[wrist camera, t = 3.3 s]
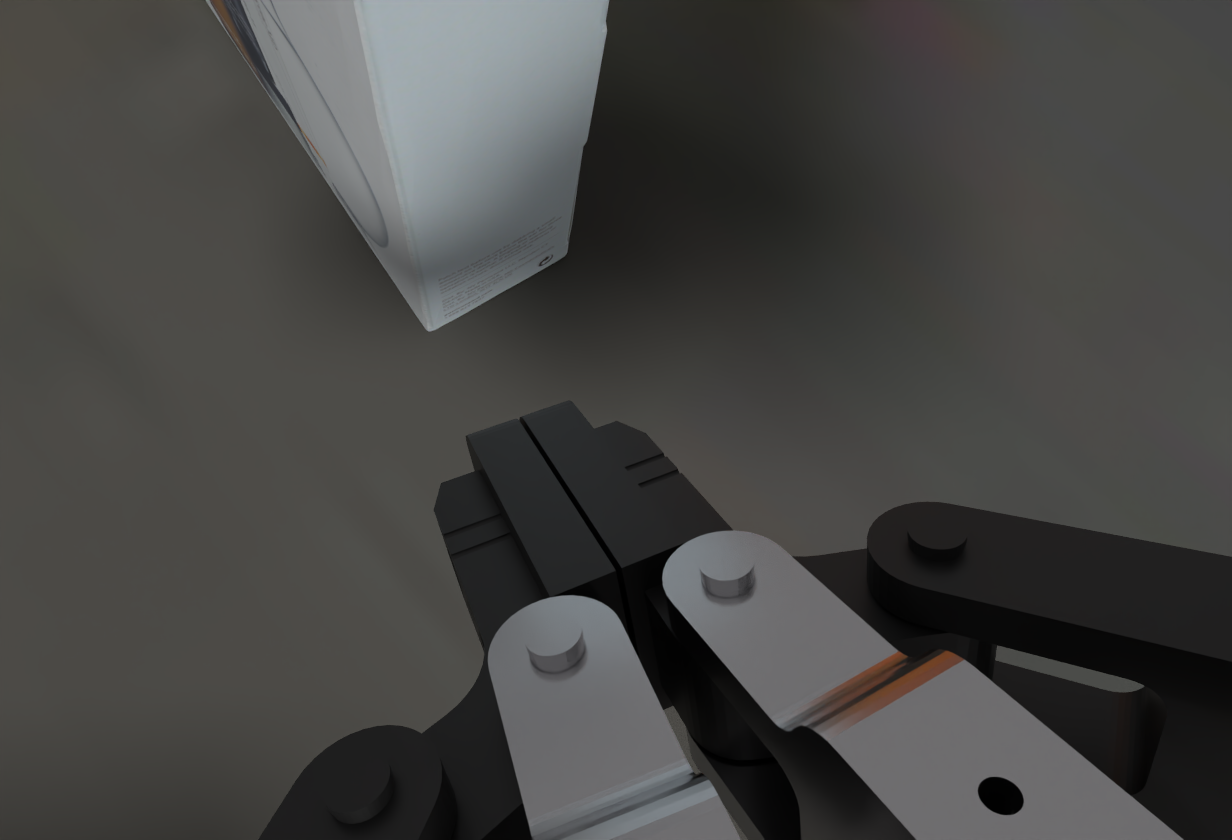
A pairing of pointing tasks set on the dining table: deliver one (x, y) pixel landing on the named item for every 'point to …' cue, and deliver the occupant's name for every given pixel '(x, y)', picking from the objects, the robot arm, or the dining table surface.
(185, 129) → the dining table surface
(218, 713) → the dining table surface
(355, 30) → the skincare box
